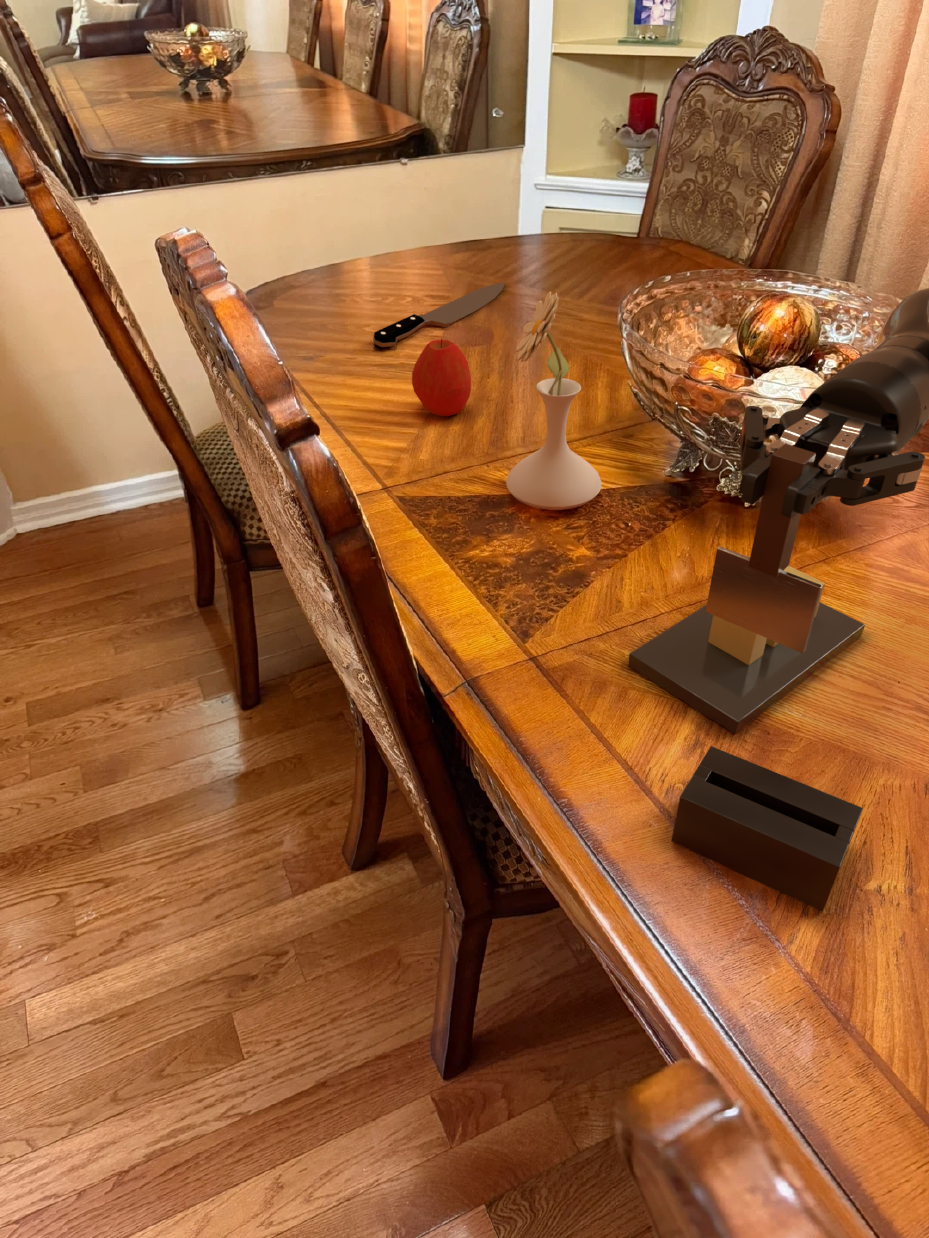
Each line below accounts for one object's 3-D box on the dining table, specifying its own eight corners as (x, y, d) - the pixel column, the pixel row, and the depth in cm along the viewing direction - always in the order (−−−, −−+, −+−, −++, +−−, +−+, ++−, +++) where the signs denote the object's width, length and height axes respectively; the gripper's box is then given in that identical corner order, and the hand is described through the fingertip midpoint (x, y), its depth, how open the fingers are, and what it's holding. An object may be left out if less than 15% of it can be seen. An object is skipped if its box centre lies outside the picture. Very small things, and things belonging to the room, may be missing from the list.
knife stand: (701, 789, 70) (710, 745, 67) (846, 852, 65) (863, 807, 62) (670, 841, 66) (679, 796, 63) (822, 912, 61) (840, 867, 58)
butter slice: (722, 632, 84) (729, 598, 81) (763, 655, 81) (771, 620, 79) (707, 641, 83) (714, 607, 80) (748, 665, 80) (756, 630, 77)
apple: (404, 418, 125) (399, 343, 119) (430, 396, 131) (427, 324, 125) (457, 428, 123) (455, 352, 116) (481, 405, 128) (481, 332, 122)
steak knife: (520, 290, 171) (522, 278, 170) (395, 356, 144) (395, 343, 143) (497, 283, 173) (498, 271, 172) (369, 347, 146) (369, 333, 145)
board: (755, 582, 93) (758, 570, 92) (861, 636, 85) (865, 624, 84) (627, 665, 82) (629, 653, 81) (735, 734, 75) (738, 722, 74)
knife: (712, 604, 70) (745, 431, 61) (809, 645, 66) (860, 466, 57) (700, 616, 69) (731, 441, 60) (797, 659, 65) (847, 478, 56)
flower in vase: (524, 466, 114) (529, 263, 98) (611, 481, 110) (631, 274, 95) (487, 515, 104) (486, 300, 89) (581, 534, 100) (597, 313, 85)
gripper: (794, 340, 70) (681, 416, 59) (982, 385, 62) (890, 479, 52) (776, 428, 74) (668, 512, 64) (949, 479, 67) (858, 583, 57)
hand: (768, 497), depth 58 cm, fingers closed on knife, 2 cm apart
